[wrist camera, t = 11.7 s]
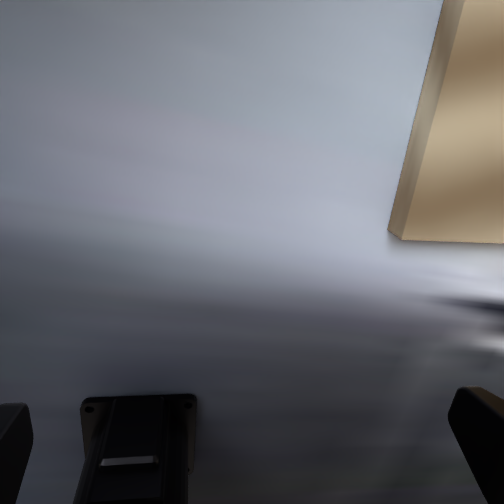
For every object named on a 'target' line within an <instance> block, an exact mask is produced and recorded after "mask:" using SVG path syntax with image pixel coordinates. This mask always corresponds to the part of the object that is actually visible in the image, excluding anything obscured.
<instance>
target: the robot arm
mask: <svg viewBox="0 0 504 504" xmlns="http://www.w3.org/2000/svg"><path fill="white" fill-rule="evenodd" d="M187 402H190V403H189V404H186V403H187ZM88 406H91V407H92V408H90V407H88ZM196 406H197V403H196V397H195V396H194V395H192V394H176V395H148V396H121V397H93V398H86V399H85V400H84V401H83V402H82V404H81V407H80V415H81V424H82V433H83V442H84V452H85V462H84V466H83V469H82V473H81V476H80V480H79V483H78V487H77V490H76V494H75V497H74V501H73V504H188V475H189V474H191V473H192V472H193V468H194V447H195V427H196ZM448 421H449V424H450V427H451V429H452V431H453V433H454V435H455V437H456V439H457V441H458V443H459V446H460V448H461V450H462V452H463V454H464V456H465V458H466V460H467V462H468V464H469V467H470V469H471V471H472V473H473V475H474V477H475V479H476V481H477V483H478V485H479V487H480V489H481V491H482V493H483V495H484V497H485V499H486V501H487V502H488V504H504V400H503V399H501V398H499V397H498V396H496V395H494V394H492V393H490V392H489V391H487V390H485V389H483V388H481V387H479V386H462V387H460V388H458V389H457V391H456V394H455V396H454V399H453V401H452V404H451V407H450V409H449V412H448ZM32 445H33V430H32V424H31V419H30V413H29V408H28V406H27V404H25V403H5V404H1V405H0V504H15V503H16V500H17V496H18V493H19V490H20V486H21V483H22V480H23V476H24V473H25V470H26V466H27V463H28V459H29V456H30V453H31V449H32Z"/></svg>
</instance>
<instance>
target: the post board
mask: <svg viewBox="0 0 504 504" xmlns="http://www.w3.org/2000/svg"><path fill="white" fill-rule="evenodd" d="M387 230H389V231H390V232H391V233H393V234H394V235H396V236H397V237H398V238H400V239H401V240H421V241H448V242H475V243H502V244H504V0H444V2H443V6H442V10H441V14H440V18H439V22H438V26H437V30H436V34H435V38H434V43H433V47H432V51H431V55H430V59H429V63H428V67H427V71H426V75H425V79H424V83H423V87H422V91H421V95H420V99H419V103H418V107H417V112H416V116H415V120H414V124H413V128H412V132H411V136H410V140H409V144H408V148H407V152H406V156H405V160H404V164H403V168H402V172H401V177H400V181H399V185H398V189H397V193H396V197H395V201H394V205H393V209H392V213H391V217H390V221H389V225H388V229H387Z"/></svg>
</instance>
